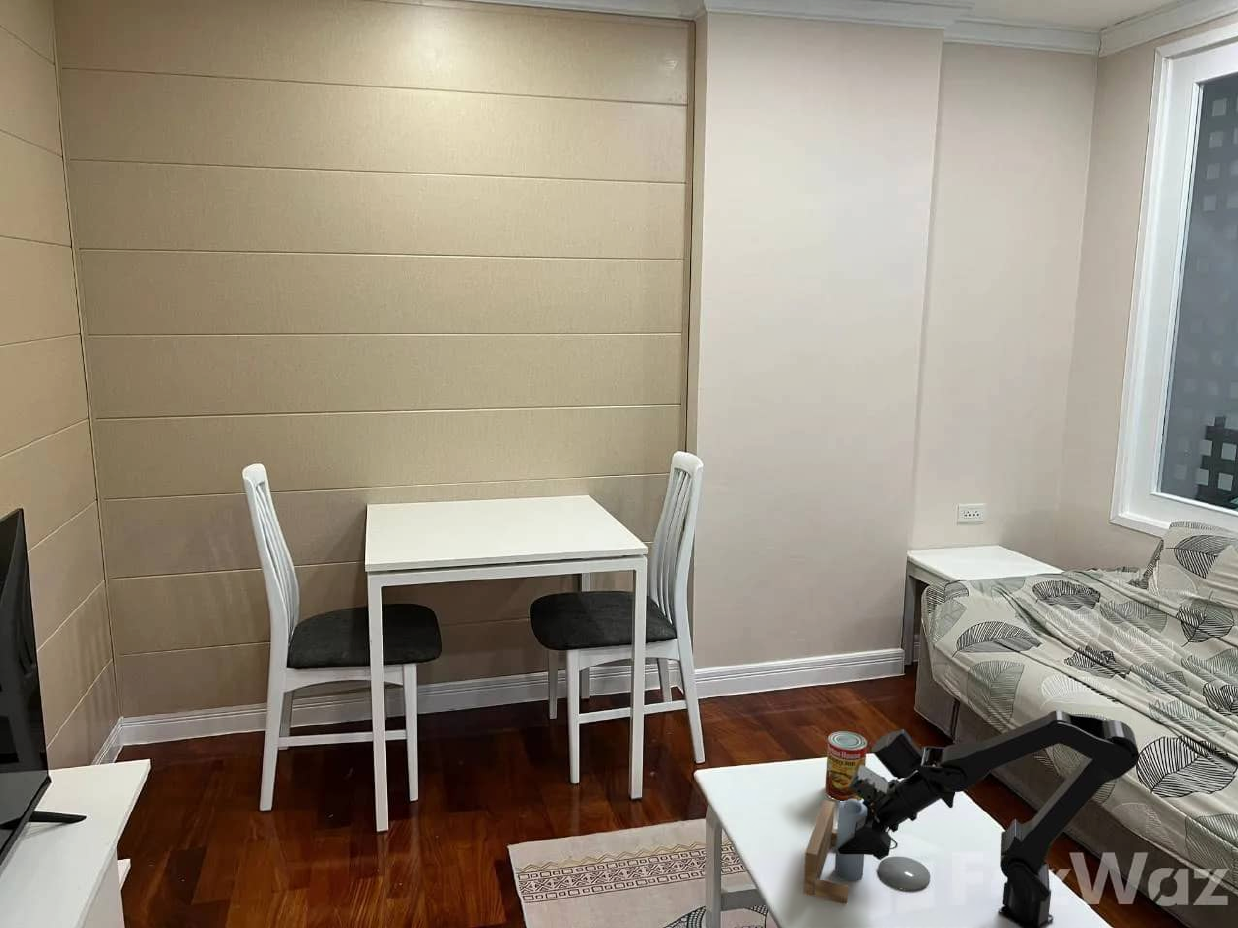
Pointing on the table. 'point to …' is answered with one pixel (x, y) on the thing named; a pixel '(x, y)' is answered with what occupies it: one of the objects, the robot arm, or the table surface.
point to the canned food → (843, 763)
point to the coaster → (904, 873)
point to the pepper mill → (848, 815)
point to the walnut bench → (822, 858)
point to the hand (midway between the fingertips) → (843, 837)
